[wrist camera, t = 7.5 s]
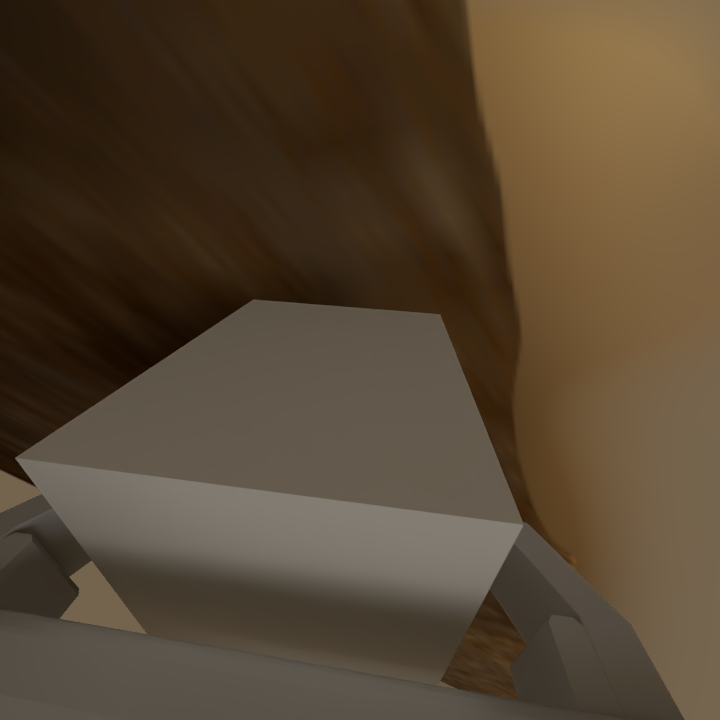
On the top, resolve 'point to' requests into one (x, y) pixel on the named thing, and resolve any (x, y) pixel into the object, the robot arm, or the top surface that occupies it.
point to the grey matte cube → (293, 490)
